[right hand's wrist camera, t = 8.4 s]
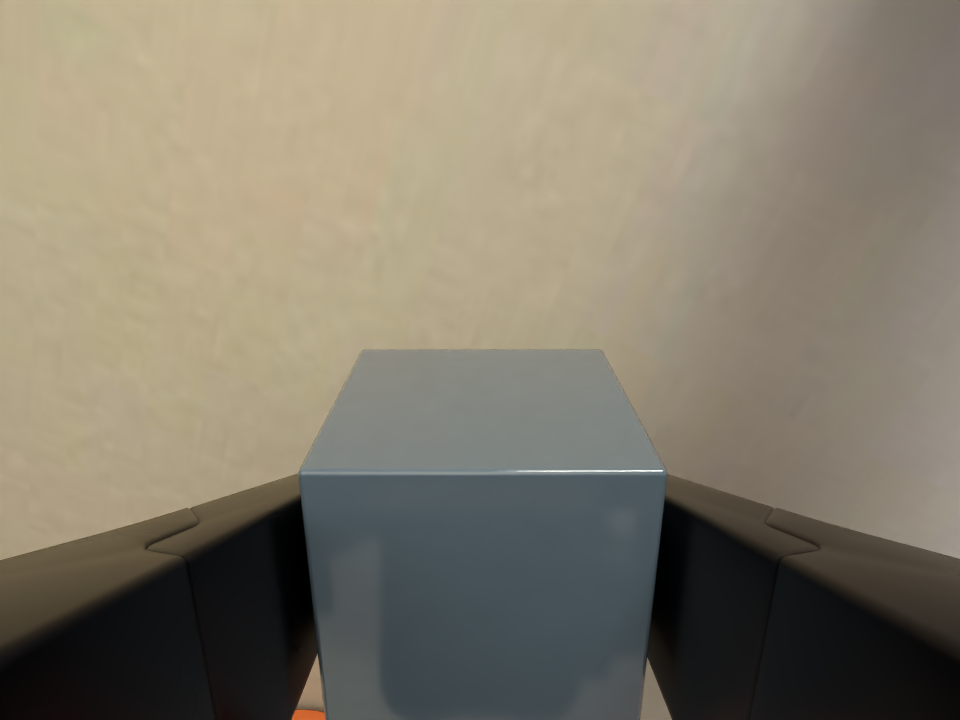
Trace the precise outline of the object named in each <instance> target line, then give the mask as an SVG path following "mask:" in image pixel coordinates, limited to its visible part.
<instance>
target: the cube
mask: <svg viewBox="0 0 960 720" xmlns="http://www.w3.org/2000/svg"><path fill="white" fill-rule="evenodd" d="M667 475H668V473H667V470H666V468H665V466H664V464H663V462H662V460H661V459H660V457H659V455H658V453H657V451H656V449H655V447H654V446H653V444H652V442H651V440H650V438H649V436H648V434H647V432H646V431H645V429H644V427H643V425H642V423H641V421H640V419H639V418H638V416H637V414H636V412H635V410H634V408H633V406H632V405H631V403H630V401H629V399H628V397H627V395H626V393H625V392H624V390H623V388H622V386H621V384H620V382H619V380H618V379H617V377H616V375H615V373H614V371H613V369H612V367H611V366H610V364H609V362H608V360H607V358H606V356H605V354H604V353H603V351H602V350H362V351H361V352H360V354H359V356H358V358H357V360H356V362H355V364H354V365H353V367H352V369H351V371H350V373H349V375H348V377H347V379H346V381H345V383H344V385H343V387H342V389H341V390H340V392H339V394H338V396H337V398H336V400H335V402H334V404H333V406H332V408H331V410H330V412H329V414H328V415H327V417H326V419H325V421H324V423H323V425H322V427H321V429H320V431H319V433H318V435H317V437H316V439H315V440H314V442H313V444H312V446H311V448H310V450H309V452H308V454H307V456H306V458H305V460H304V462H303V464H302V465H301V467H300V469H299V472H298V478H299V487H300V496H301V505H302V514H303V523H304V533H305V542H306V551H307V560H308V569H309V578H310V587H311V596H312V606H313V615H314V624H315V633H316V642H317V651H318V660H319V670H320V679H321V688H322V697H323V706H324V715H325V720H640V716H641V707H642V698H643V689H644V680H645V671H646V662H647V653H648V644H649V635H650V627H651V618H652V609H653V600H654V591H655V582H656V573H657V564H658V555H659V546H660V537H661V528H662V520H663V511H664V502H665V493H666V484H667Z"/></svg>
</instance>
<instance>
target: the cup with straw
mask: <svg viewBox="0 0 960 720" xmlns="http://www.w3.org/2000/svg"><path fill="white" fill-rule="evenodd" d="M292 720H325V715H324V712H320V711H314V710H295V712H294V715H293V717H292Z"/></svg>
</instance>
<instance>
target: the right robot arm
mask: <svg viewBox="0 0 960 720" xmlns="http://www.w3.org/2000/svg"><path fill="white" fill-rule="evenodd" d="M317 653H318V651H317V642H316V633H315V624H314V615H313V606H312V596H311V587H310V578H309V569H308V560H307V551H306V542H305V533H304V523H303V514H302V505H301V496H300V487H299V478H298V474H295V475H292V476H289V477H286V478H282V479H279V480H276V481H273V482H270V483H267V484H264V485H260V486H257V487H254V488H251V489H248V490H245V491H242V492H238V493H235V494H232V495H229V496H226V497H223V498H219V499H216V500H213V501H210V502H207V503H204V504H201V505H197V506H194V507H192V508H190V509H189V508H185V509H182V510H179V511H176V512H172V513H169V514H166V515H163V516H159V517H156V518H153V519H149V520H146V521H143V522H139V523H136V524H132V525H129V526H125V527H122V528H118V529H115V530H111V531H107V532H104V533H100V534H97V535H93V536H89V537H85V538H82V539H78V540H74V541H70V542H67V543H63V544H59V545H56V546H52V547H48V548H44V549H41V550H37V551H33V552H30V553H26V554H22V555H18V556H15V557H11V558H7V559H3V560H0V720H292V717H293V715H294V712H295V710H296V707H297V705H298V702H299V699H300V697H301V694H302V692H303V689H304V687H305V684H306V682H307V679H308V676H309V674H310V671H311V669H312V666H313V664H314V661H315V658H316V656H317ZM647 657H648V660H649V662H650V665H651V667H652V670H653V672H654V675H655V677H656V680H657V683H658V685H659V688H660V690H661V693H662V695H663V698H664V700H665V703H666V705H667V708H668V710H669V713H670V715H671V718H672V720H960V559H958V558H955V557H951V556H947V555H943V554H940V553H936V552H932V551H928V550H925V549H921V548H917V547H913V546H910V545H906V544H902V543H898V542H895V541H891V540H887V539H883V538H880V537H876V536H872V535H868V534H865V533H861V532H857V531H854V530H850V529H847V528H843V527H839V526H836V525H832V524H829V523H825V522H822V521H818V520H815V519H812V518H808V517H805V516H802V515H798V514H795V513H792V512H789V511H785V510H782V509H779V508H775V509H774V508H773V507H770V506H767V505H763V504H760V503H757V502H754V501H751V500H748V499H744V498H741V497H738V496H735V495H732V494H729V493H725V492H722V491H719V490H716V489H713V488H709V487H706V486H703V485H700V484H697V483H694V482H690V481H687V480H684V479H681V478H678V477H674V476H671V475H667V484H666V493H665V502H664V511H663V520H662V528H661V537H660V546H659V555H658V564H657V573H656V582H655V591H654V600H653V609H652V618H651V627H650V635H649V644H648V653H647Z"/></svg>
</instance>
